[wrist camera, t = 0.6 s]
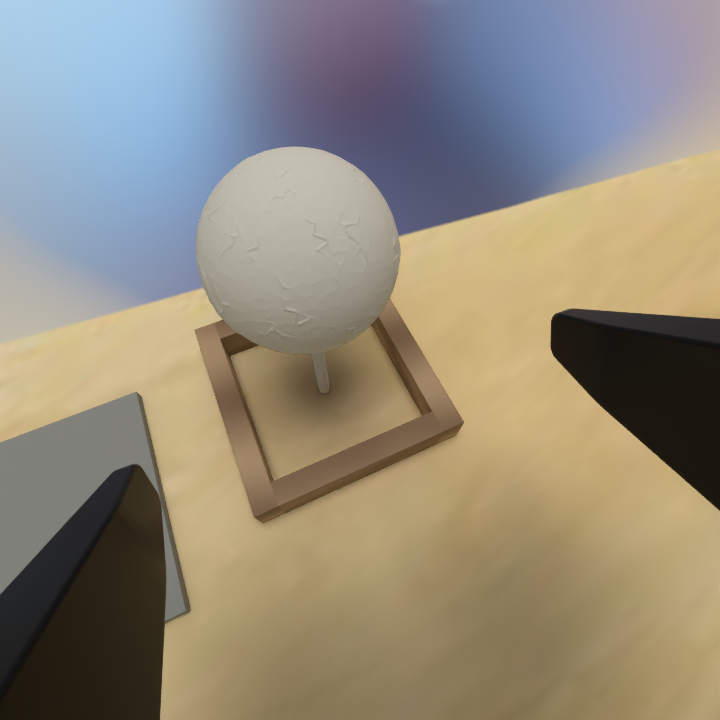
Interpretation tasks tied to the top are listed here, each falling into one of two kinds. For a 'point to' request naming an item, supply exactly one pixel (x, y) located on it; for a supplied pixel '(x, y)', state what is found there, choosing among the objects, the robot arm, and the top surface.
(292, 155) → the lollipop
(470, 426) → the top surface
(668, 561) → the top surface
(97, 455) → the mat
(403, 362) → the brown wooden square frame
